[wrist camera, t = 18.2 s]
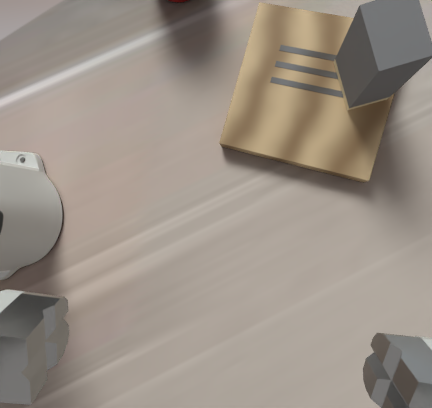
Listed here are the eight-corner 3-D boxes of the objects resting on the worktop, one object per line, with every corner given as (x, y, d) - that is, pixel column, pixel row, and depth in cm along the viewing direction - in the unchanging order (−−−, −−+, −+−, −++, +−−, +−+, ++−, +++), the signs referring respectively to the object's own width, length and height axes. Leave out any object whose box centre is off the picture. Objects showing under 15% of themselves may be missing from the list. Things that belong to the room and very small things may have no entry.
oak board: (221, 146, 40) (219, 142, 38) (259, 12, 40) (259, 2, 38) (363, 182, 37) (369, 180, 35) (405, 38, 37) (413, 27, 35)
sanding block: (387, 99, 35) (435, 54, 25) (347, 110, 36) (378, 71, 26) (373, 50, 36) (414, -13, 26) (333, 62, 36) (359, 5, 26)
